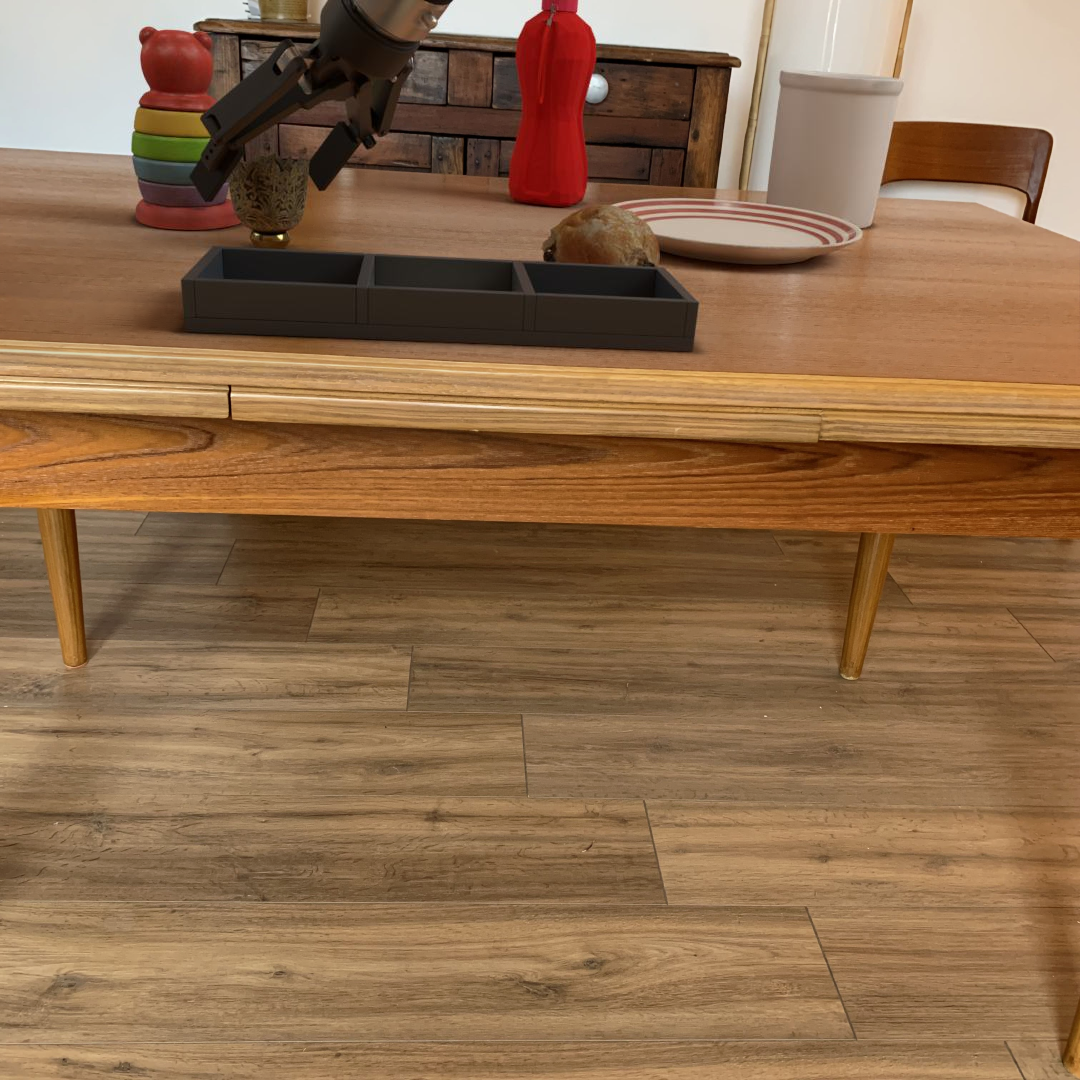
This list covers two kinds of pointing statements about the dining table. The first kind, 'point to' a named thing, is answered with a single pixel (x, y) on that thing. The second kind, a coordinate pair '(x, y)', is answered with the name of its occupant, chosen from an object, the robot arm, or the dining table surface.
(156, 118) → the stacking bear
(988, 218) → the dining table surface
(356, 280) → the compartment tray
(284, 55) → the robot arm
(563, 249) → the bread roll
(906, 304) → the dining table surface
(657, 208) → the dinner plate
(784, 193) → the utensil holder
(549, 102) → the water bottle
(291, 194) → the cup
